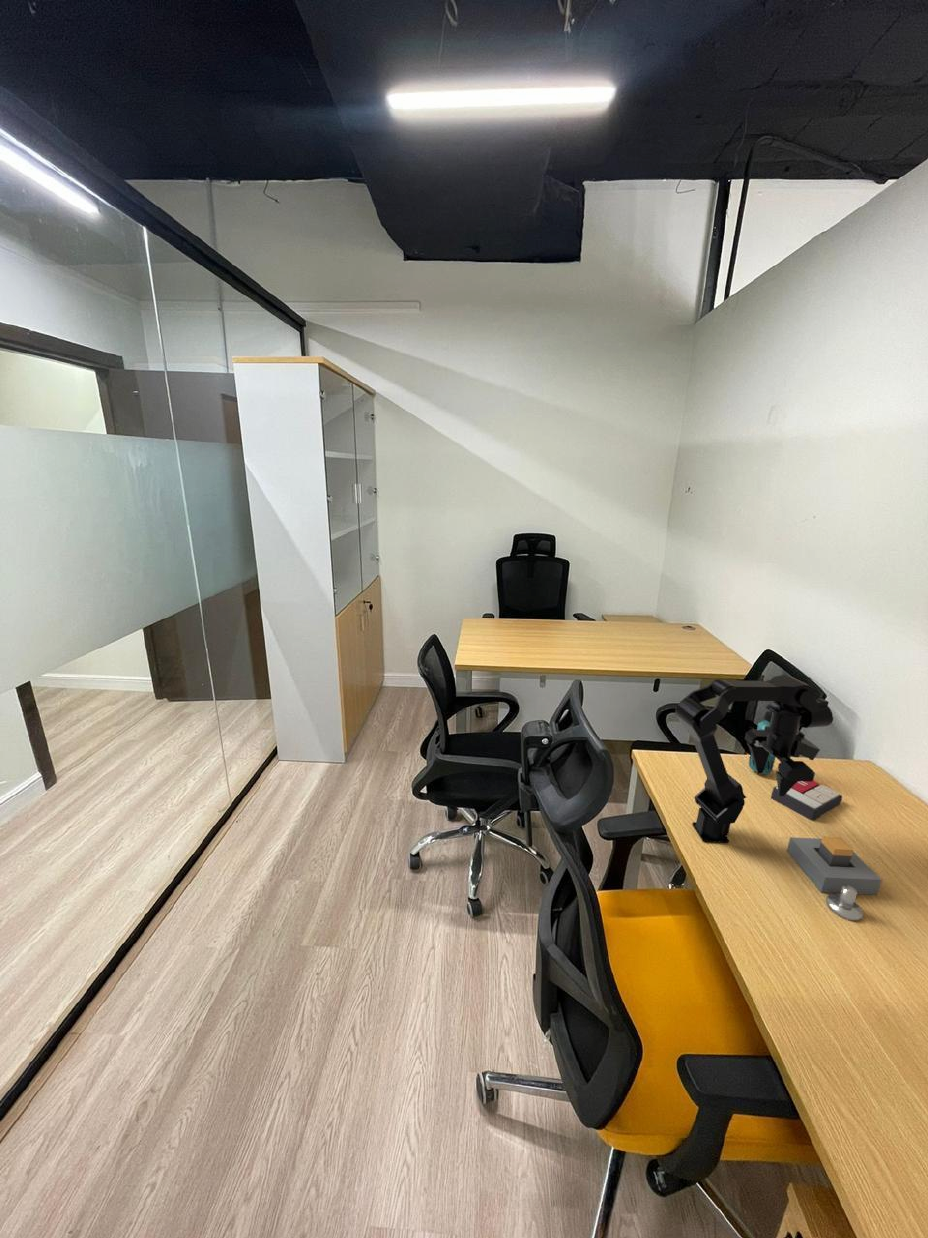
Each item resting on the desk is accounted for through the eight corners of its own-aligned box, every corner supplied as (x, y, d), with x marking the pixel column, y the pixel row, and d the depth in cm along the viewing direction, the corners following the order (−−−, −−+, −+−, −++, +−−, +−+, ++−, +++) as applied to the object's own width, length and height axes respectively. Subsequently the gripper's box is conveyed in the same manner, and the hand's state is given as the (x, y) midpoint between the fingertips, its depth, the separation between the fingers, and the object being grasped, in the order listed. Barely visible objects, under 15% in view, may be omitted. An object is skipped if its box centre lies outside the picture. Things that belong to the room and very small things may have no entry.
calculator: (843, 793, 133) (817, 808, 125) (839, 807, 134) (812, 822, 127) (801, 772, 142) (773, 785, 135) (797, 785, 143) (769, 798, 136)
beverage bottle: (749, 763, 152) (762, 706, 146) (773, 772, 148) (787, 713, 142) (744, 772, 147) (758, 713, 141) (770, 781, 143) (784, 721, 137)
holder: (820, 892, 104) (825, 877, 103) (786, 851, 116) (790, 837, 115) (876, 894, 104) (881, 879, 103) (836, 853, 116) (841, 839, 115)
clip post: (839, 920, 98) (845, 901, 96) (819, 896, 103) (825, 877, 102) (869, 922, 98) (876, 902, 96) (847, 897, 103) (853, 878, 102)
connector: (826, 878, 108) (835, 849, 106) (814, 864, 112) (822, 836, 110) (844, 879, 108) (853, 850, 106) (831, 865, 112) (840, 837, 110)
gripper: (846, 750, 106) (829, 810, 111) (792, 711, 124) (780, 763, 129) (795, 748, 107) (780, 808, 111) (749, 709, 125) (738, 762, 129)
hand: (770, 784), depth 120 cm, fingers open, 9 cm apart
